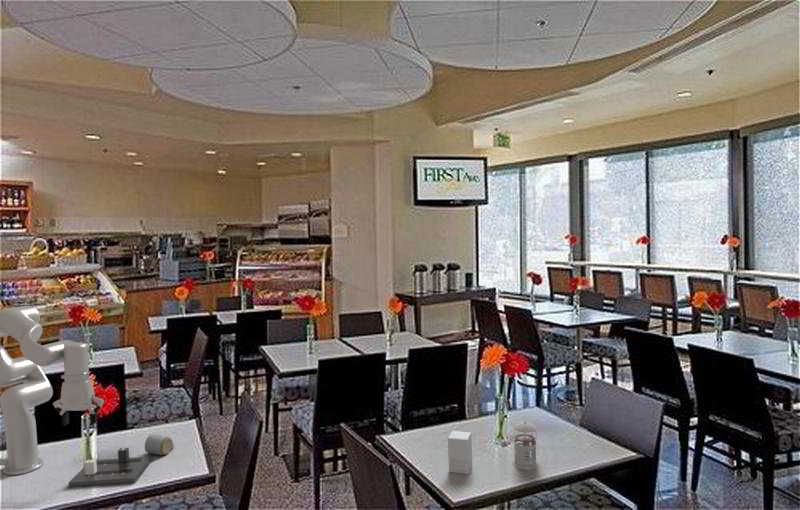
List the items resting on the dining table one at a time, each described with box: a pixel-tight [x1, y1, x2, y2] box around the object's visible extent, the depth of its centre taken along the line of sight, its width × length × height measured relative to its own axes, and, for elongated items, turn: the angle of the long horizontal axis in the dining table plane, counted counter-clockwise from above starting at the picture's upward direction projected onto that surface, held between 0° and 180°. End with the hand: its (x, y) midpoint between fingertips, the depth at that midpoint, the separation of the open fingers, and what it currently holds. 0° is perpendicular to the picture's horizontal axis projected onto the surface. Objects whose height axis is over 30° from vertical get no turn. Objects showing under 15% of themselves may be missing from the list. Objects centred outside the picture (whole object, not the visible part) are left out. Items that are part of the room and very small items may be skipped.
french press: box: [511, 396, 540, 471], centre depth 206 cm, size 10×12×25 cm
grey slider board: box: [68, 455, 153, 489], centre depth 205 cm, size 22×18×2 cm
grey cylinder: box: [144, 432, 176, 456], centre depth 224 cm, size 11×8×8 cm
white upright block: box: [84, 459, 97, 475], centre depth 201 cm, size 3×2×5 cm
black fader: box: [117, 447, 130, 462], centre depth 211 cm, size 3×2×5 cm
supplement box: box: [447, 430, 473, 475], centre depth 202 cm, size 7×7×13 cm
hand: (79, 424), depth 202 cm, fingers open, 9 cm apart
